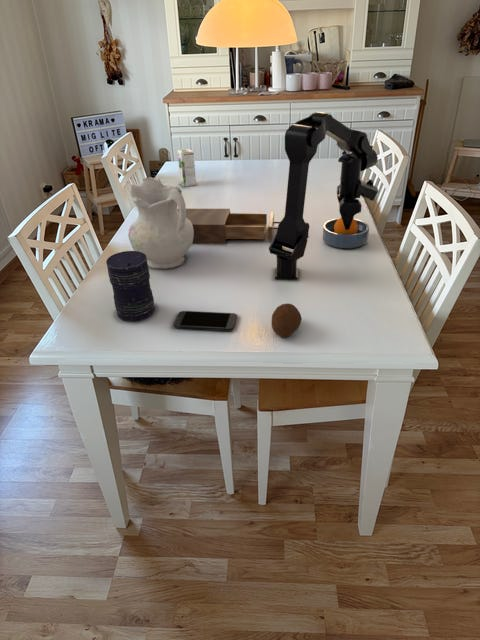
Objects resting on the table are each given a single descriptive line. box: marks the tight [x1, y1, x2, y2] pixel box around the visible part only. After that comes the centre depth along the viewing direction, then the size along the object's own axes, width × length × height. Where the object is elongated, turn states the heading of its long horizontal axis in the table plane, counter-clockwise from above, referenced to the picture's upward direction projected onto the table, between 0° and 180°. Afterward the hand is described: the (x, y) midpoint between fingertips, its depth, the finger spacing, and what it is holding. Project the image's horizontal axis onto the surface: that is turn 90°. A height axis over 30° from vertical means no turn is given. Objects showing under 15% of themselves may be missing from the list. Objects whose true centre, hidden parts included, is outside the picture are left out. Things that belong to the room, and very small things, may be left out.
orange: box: [334, 216, 358, 235], centre depth 154 cm, size 7×7×7 cm
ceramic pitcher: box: [127, 176, 194, 270], centre depth 142 cm, size 22×20×25 cm
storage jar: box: [105, 250, 156, 323], centre depth 121 cm, size 10×10×15 cm
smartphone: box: [172, 310, 238, 332], centre depth 119 cm, size 7×15×1 cm, turn 81°
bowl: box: [322, 217, 370, 249], centre depth 155 cm, size 14×14×5 cm
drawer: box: [225, 211, 282, 242], centre depth 161 cm, size 22×13×5 cm, turn 83°
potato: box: [271, 302, 303, 338], centre depth 113 cm, size 7×10×7 cm
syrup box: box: [177, 148, 197, 188], centre depth 209 cm, size 6×6×14 cm
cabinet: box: [177, 208, 231, 245], centre depth 164 cm, size 19×15×7 cm
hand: (346, 224), depth 153 cm, fingers open, 8 cm apart
